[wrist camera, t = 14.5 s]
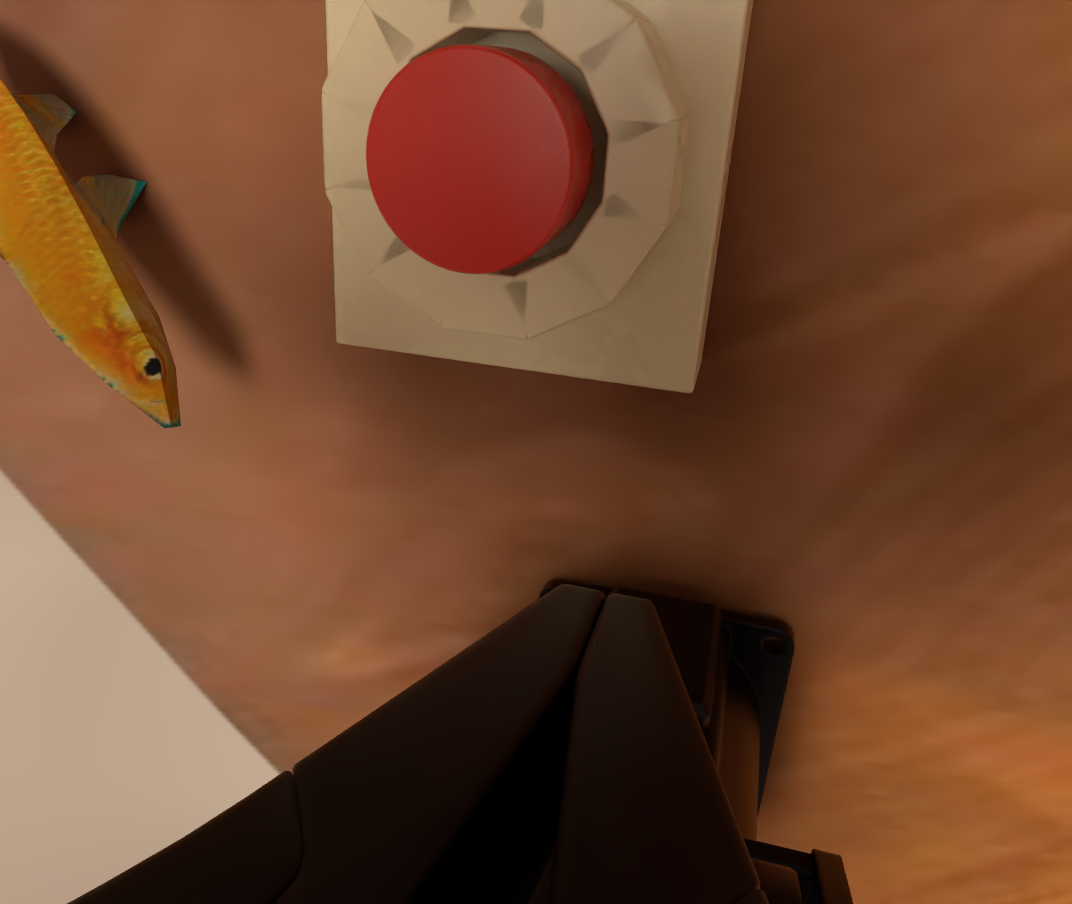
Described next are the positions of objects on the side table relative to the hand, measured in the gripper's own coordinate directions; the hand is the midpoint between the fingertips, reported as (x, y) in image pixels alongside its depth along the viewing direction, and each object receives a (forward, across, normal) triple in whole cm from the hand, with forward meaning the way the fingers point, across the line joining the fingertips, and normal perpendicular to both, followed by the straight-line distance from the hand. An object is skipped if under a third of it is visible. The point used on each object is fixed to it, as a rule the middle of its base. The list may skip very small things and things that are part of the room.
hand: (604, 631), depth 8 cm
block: (+13, +4, -2) cm, 14 cm away
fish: (+13, +15, -1) cm, 20 cm away
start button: (+10, +4, -3) cm, 11 cm away
